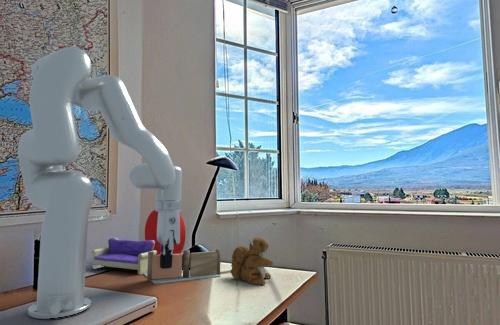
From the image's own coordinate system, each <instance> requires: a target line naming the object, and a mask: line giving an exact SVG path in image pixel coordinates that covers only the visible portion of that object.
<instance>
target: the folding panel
mask: <svg viewBox="0 0 500 325" xmlns="http://www.w3.org/2000/svg"><path fill="white" fill-rule="evenodd" d="M153 253H154V252H148V269H147V277H146V279H147V280H150V279H162V278H177V277H182V269H183V253H180V254H172V268H166V269H162V268H160V255H153Z"/></svg>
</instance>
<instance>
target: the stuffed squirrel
mask: <svg viewBox="0 0 500 325" xmlns="http://www.w3.org/2000/svg"><path fill="white" fill-rule="evenodd" d="M248 241H249V248H248V247H246V246H241V245H240V246H237V247H236V248H235V249H234V250H233V252H232V255H231V265H230V267H231V270H230V272H229V273H230V274H231V276H232V277H233V278H234V280H236V281H245V282H246V283H249V284H251V285H256V284H258V286H264V285H265V284H266V279H264V278H268V277H271V278H272V275H271V274H270V273H268V272H266V269H265V267H272V266H273V265H274V261H273V260H272V259H271V258H270V257H266V256H264V254H265V253H266V254H267V253H268V251H269V242H267V241H266V240H265V239H264V238H262V237H260V236H259V237H253V238H250V239H249V240H248Z"/></svg>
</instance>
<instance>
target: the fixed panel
mask: <svg viewBox="0 0 500 325" xmlns="http://www.w3.org/2000/svg"><path fill="white" fill-rule="evenodd" d="M182 252H183V253H182V269H183V278H189V276H199V275H208V274H218V275H220V276H221V255H222V254H221V252H222V250H221V249H219V248H218V249H215V250H214V251H213V250H212V251H201V252H199V251H198V252H190V249H184V250H182ZM189 268H190V275H189Z"/></svg>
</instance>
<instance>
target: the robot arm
mask: <svg viewBox="0 0 500 325" xmlns="http://www.w3.org/2000/svg"><path fill="white" fill-rule="evenodd" d="M91 70H92V63H91V59H90V57H89V55H88V54H87V52H85V51H84V50H83V49H82V48H79V47H75V46H66V47H63V48H60V49H58V50H55V51H53V52H52V53H50V54H47V55H45V56H43V57H41V58H39V59H38V60H36V61H35V62H34V64H32V68H31V76H32V78H33V80H32V82H31V85H30V90H29V98H28V99H29V108H30V115H31V116H30V117H31V125H32V129H31V128H30V129H29V130H27V131H25V132H24V133H23V134H22V135H21V137H20V139H19V141H18V145H17V157H18V163H19V168H20V172H21V178H22V182H23V187H24V190H25V195H26V196H27V199H28V201H29V202H30V203H31V205H33V206H34V207H36V208H38V209H39V210H45V214H44V216H43V220H42V224H41V228H40V229H41V230H40V239H39V240H40V243H39V260H38V261H39V262H38V274H37V275H38V277H37V294H36V302H35V303H33V304H31V305H30V306H29V307H28V309H27V315H28V316H29V317H31V318H34V319H38V320H39V319H42V320H51V319H50V318H55V319H59V318H58V317H63V316H67V315H71V314H75V313H78V312H81V311H83V310H85V309H86V308H88V307H89V306H90V305H91V306H92V301H91V299H89V298H88V297H85V284H86V280H85V279H86V264H87V263H86V262H87V248H88V247H87V244H88V243H87V242H88V229H89V228H88V226H89V217H90V212H91V209H92V204H93V200H94V188H93V187H94V186H93V184H92V181H91V180H90V179H89V178H88V177H87V176H86V175H85V174H84V173H81V172H78V171H76V170H64V168H63V166H66V165H68V164H71V163H72V162H75V160H77V158H78V157H79V153H80V142H79V136H78V131H77V125H76V121H75V115H74V107H73V105H74V106H76V107H79V108H81V109H83V110H87V111H92V112H93V111H94V112H95V111H100V114H101V115H102V119H103V120H104V122H105V125H106V126H107V128H108V130H109V132H110V135H111V137H112V138H113V139H114V140H115V141H117V142H118V143H120V144H122V145H124V146H126V147H128V148H130V149H133V150H134V151H135V152H136V153H138V154H139V156H141V157H142V158H143V159H144V161H145V162H146V163H139V164H137V165H135V166H133V167H132V168H131V169H130V172H129V174H128V179H129V182H130V184H131V185H132V186H133V187H135V188H137V189H139V190H156V191H155V209H154V210H155V211H158V222H157V241H158V242H159V243H160V244H161V254H160V268H162V269H166V268H172V253H173V249H174V246H173V243H174V244H176V245H179V243H180V217H179V214H180V212H181V211H182V208H181V207H182V184H183V183H182V180H183V170H182V168H181V167H180V166H176V165H174V163H173V161H172V158H171V157H170V156H171V155H170V154H169V152H168V150H167V148H166V147H165V146H164V145H163V143H162V142H161V141H160V140H159V139H158V138H157V137H156V136H155V135H154V134H153V133H152V132H150V131H149V130H148V129H147V128H145V126H144V125H143V123H142V121H141V119H140V116H139V115H138V112H137V110H136V108H135V106H134V103H133V101H132V99H131V96H130V94H129V92H128V90H127V87H126V86H125V84H124V81H122V79H121V78H120V77H118V76H116V75H113V74H104V75H99V76H96V77H92V78H89V76H90V73H91ZM91 306H90V307H91ZM63 318H64V317H63Z"/></svg>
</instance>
